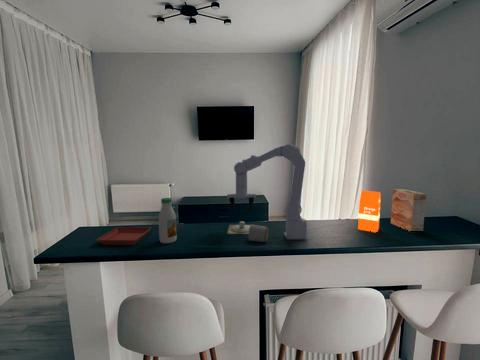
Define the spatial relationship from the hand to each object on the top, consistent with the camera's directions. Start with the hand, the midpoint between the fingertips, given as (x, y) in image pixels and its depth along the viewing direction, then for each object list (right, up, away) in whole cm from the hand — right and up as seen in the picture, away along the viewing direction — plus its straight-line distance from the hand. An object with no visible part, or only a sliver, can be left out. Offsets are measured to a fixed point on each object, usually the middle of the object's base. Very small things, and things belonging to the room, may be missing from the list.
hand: (241, 212), depth 129 cm
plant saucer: (-55, -12, -8) cm, 57 cm away
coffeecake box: (+87, -9, +6) cm, 88 cm away
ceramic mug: (+8, -12, -11) cm, 18 cm away
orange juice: (+66, -9, +3) cm, 67 cm away
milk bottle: (-34, -12, -11) cm, 38 cm away
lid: (0, -9, +1) cm, 9 cm away
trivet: (0, -10, +2) cm, 10 cm away
